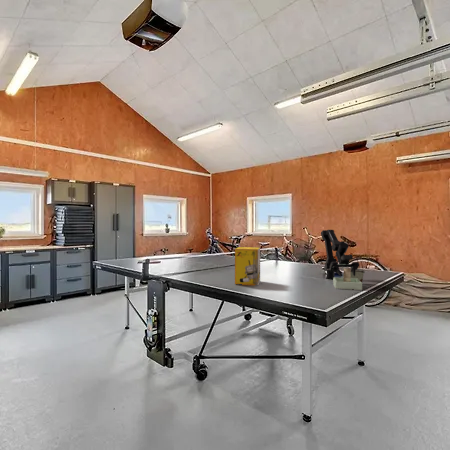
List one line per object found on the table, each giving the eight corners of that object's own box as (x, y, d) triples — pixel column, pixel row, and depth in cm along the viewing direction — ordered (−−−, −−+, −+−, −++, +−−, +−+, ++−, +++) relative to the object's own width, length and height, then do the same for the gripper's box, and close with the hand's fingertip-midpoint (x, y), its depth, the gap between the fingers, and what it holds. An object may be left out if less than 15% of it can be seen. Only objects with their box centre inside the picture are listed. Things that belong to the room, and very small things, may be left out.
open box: (333, 283, 211) (333, 277, 211) (357, 285, 206) (357, 278, 206) (335, 288, 195) (335, 281, 195) (362, 290, 191) (362, 283, 191)
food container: (363, 282, 215) (363, 269, 215) (364, 284, 209) (364, 270, 209) (344, 281, 218) (344, 268, 218) (345, 283, 212) (345, 269, 212)
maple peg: (342, 286, 202) (342, 268, 202) (346, 285, 204) (346, 268, 204) (347, 287, 198) (347, 269, 198) (352, 287, 200) (352, 269, 200)
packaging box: (258, 285, 204) (258, 249, 204) (234, 284, 208) (234, 248, 208) (260, 281, 220) (260, 247, 220) (238, 280, 223) (238, 247, 223)
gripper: (331, 250, 205) (337, 268, 194) (358, 250, 205) (365, 268, 194) (327, 260, 213) (332, 278, 201) (353, 260, 213) (360, 278, 202)
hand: (347, 275), depth 199 cm, fingers open, 9 cm apart
